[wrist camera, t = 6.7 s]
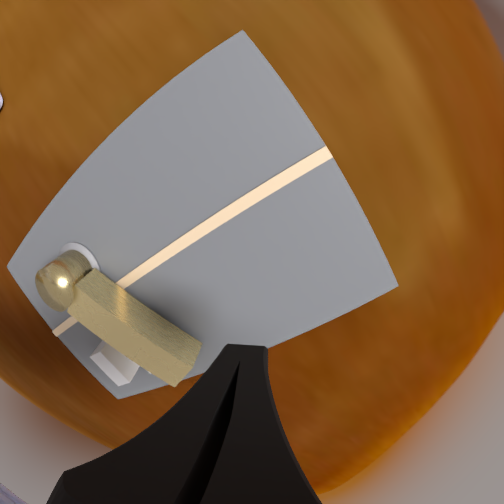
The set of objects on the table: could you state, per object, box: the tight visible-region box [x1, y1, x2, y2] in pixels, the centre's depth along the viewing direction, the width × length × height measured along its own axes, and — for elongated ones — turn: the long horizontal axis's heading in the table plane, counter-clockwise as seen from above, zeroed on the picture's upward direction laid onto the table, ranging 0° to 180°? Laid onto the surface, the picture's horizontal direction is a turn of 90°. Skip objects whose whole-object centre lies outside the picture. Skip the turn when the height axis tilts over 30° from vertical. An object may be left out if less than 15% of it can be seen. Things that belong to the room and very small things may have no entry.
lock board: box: [7, 30, 398, 399], centre depth 16 cm, size 15×24×3 cm, turn 124°
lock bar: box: [35, 250, 203, 387], centre depth 16 cm, size 11×3×3 cm, turn 55°
